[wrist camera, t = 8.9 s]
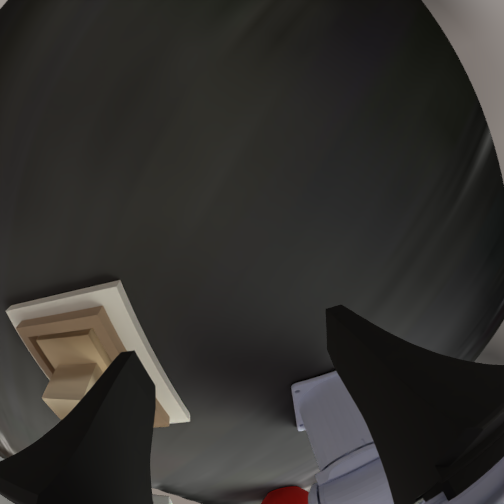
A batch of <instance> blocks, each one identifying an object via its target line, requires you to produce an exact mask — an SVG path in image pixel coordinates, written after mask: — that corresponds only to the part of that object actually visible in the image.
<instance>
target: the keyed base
mask: <svg viewBox="0 0 504 504" xmlns="http://www.w3.org/2000/svg"><path fill="white" fill-rule="evenodd" d="M6 313H7V314H8V316H9V318H10V320H11V322H12V324H13V325H14V327H15V329H16V331H17V332H18V334H19V336H20V337H21V339H22V341H23V342H24V344H25V345H26V347H27V349H28V350H29V352H30V353H31V355H32V356H33V358H34V359H35V361H36V362H37V363H38V365H39V366H40V368H41V369H42V370H43V372H44V373H45V375H46V376H47V377H48V379H49V380H50V379H51V377H52V375H53V373H54V371H55V369H54V367H53V366H52V364H51V363H50V361H49V360H48V358H47V357H46V355H45V354H44V352H43V351H42V349H41V348H40V346H39V344H38V343H37V341H36V340H37V338H38V337H39V336H41V335H49V334H56V333H64V332H71V331H78V330H84V329H91V328H93V329H94V331H95V333H96V335H97V337H98V338H99V340H100V342H101V344H102V345H103V347H104V349H105V350H106V352H107V354H108V355H109V357H110V359H111V360H112V362H113V360H114V359H115V358H116V357H117V356H118V355H119V354H120V353H121V352H126V351H133V350H135V352H136V354H137V356H138V357H139V359H140V361H141V362H142V364H143V366H144V368H145V369H146V371H147V373H148V374H149V376H150V378H151V379H152V381H153V382H154V384H155V386H156V409H155V418H154V426H153V427H168V426H169V423H181V422H190V413H189V412H188V410H187V408H186V407H185V405H184V404H183V402H182V400H181V399H180V397H179V396H178V394H177V392H176V391H175V389H174V387H173V386H172V384H171V382H170V380H169V379H168V377H167V375H166V374H165V372H164V370H163V368H162V366H161V365H160V363H159V361H158V359H157V357H156V355H155V353H154V351H153V350H152V348H151V346H150V344H149V342H148V340H147V338H146V336H145V334H144V332H143V330H142V328H141V326H140V323H139V321H138V319H137V317H136V315H135V313H134V311H133V308H132V306H131V304H130V302H129V299H128V297H127V295H126V292H125V290H124V288H123V285H122V283H121V280H117V281H113V282H109V283H104V284H100V285H96V286H92V287H87V288H83V289H79V290H75V291H70V292H66V293H62V294H57V295H53V296H49V297H45V298H40V299H36V300H32V301H28V302H23V303H19V304H15V305H11V306H10V307H9V308H8V309H7V310H6Z"/></svg>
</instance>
